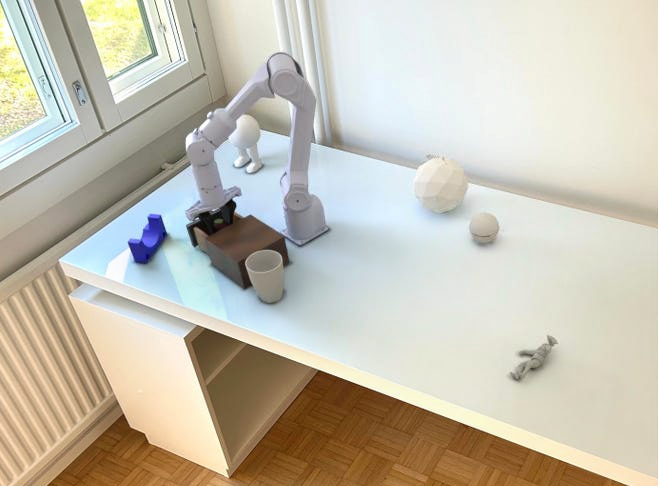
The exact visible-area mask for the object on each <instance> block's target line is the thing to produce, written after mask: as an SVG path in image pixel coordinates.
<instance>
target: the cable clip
mask: <svg viewBox="0 0 658 486" xmlns="http://www.w3.org/2000/svg"><path fill="white" fill-rule="evenodd" d="M146 217H147V223H146V224H145V226H144V227H143V228H142V233H141V237H140V239H139V238H129V240H128V241H127V245H128V248H129V250H130V253H131V255H132V258H133V262H134V263H141V264H148V262H149V261H150V259H151V258H152V256H153V255H154V254H155V252H156V251H157V249H159V247H160V245H162V243H163V241H164V240H165V239H166V237H167V236H168V232H167V229H166V226H165V223H164V220H163V217H162V214H156V213H149V214H148V215H147V216H146Z"/></svg>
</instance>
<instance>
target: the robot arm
mask: <svg viewBox="0 0 658 486" xmlns="http://www.w3.org/2000/svg"><path fill="white" fill-rule="evenodd" d="M275 95H276V96H278V97H280V98H282V99H284V100H286V101H288V102H289V103H291V104H292V105H293V106H292V114H291V115H292V117H291V124H290V125H291V126H290V135H289V145H288V154H287V163H286V164H285V168H284V172H283V173H282V174H281V176H280V179H279V184H280V187H281V190H282V191H281V192H282V195H283V200H282V202H281V204H282V209H283V214H284V215H283V216H284V220H285V225H286V228H285V229H283V230H281V231H280V234H282V235H283V236H285V238H287V239H288V240H290V241H292V242H293V243H295V244H296V245H297V246H303V245H305V244H307V243H308V242H310V241H311V240H313V239H315V238H317V237H318V236H320V235H322V234H324V233H326V232H327V231H328V230H329V227H327V224H326V217H325V209H324V205H323V203H322V201H321V200H320V198H319V197H318V196H317V195H316V194H314V193H309V174H308V173H309V164H310V156H311V149H312V140H313V132H314V123H315V117H316V116H315V115H316V110H317V109H316V107H317V97H316V94H315V92H314V90H313V88H312V86H311V84H310V82H309V81H308V78H307V76H306V75H305V72H304V70H303V69H302V66H301V64H300V63H299V62H298V61H297V60H296V59H295V58H294V57H293V56H291V55H290V53H287V52H285V51H276V52H273V53H272V54H271V55H270V56H269V57H268V58H267V59H266V61H264V62H262V63H261V64H260V65H259V66H258V67H257V69H256V71H255V72H254V73H253V74H252V76H251V77H250V78H249V79H248V80H247V82H246V83H245V84H244V85H243V87H242V88H241V89H240V90H239V91H238V92H237V94H236V95H235V96H234V97H233V99H232V100H231V101H230V102H229V103H228V104H227V106H226V107H224V108H223V107H222V108H216V109H215V110H214V111H209V112H208V113H207V115H206V116H207V117H206V120H204V122H203V123H202V124H201V125H199V127H195V128H194V130H193V131H191V132H190V133H189V134H188V135H186V138H185V143H184V144H185V153H186V157H187V159H188V161H189V162H190V165H191V172H192V175H193V179H194V182H195V186H196V189H197V193H198V197H199V200H197V201H196V202H194V204H192V205H191V206H190V207H189V208H187V209H185V210H184V214H185V217H186V219H188V221H189V220H191V221H190V222H193V221H192V220H194V219H195V218H194V217H196V216H197V217H198V218H197V219H200V220H201V221H202V222H203V224H204V225H205V226H206V228H207V230H208V231H209V233H210V235H212V234H214V233H216V229H215V225H214V217H213V216H212V215H211V214H210V212H208V211H210V210H212V211H214V210H216V209H218V208H220V210H221V212H222V216H223V220H224V221H225V222H227V224H228V225H231V224H233V216H234V212H236V209H237V207H238V206H237V202H236V201H235V200H234V198H236V197H238V198H240V197H241V196H243V192H242V189H241V188H240V187H239V186H237V185H234V186H232V187H229V188H224V187H223V182H222V180H221V175H220V171H219V167H218V163H217V162H216V160H215V151H216V150H217V149H219V148H220V146H222V145H223V143H225V142H226V140H228V139H229V138H228V137H229V136H230V135H231V134H232V133H233V132H234V131H235V130H236V129H237V122H236V121H237V120H238V119H239V118H240V117H241V116H242V115H243V114H245V113H247V111H249V110H250V109H251V108H252V107H253V106H254V105H255V104H256V103H257V102H258V101H260V100H261V98H265V99H275V98H276V96H275Z"/></svg>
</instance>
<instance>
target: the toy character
mask: <svg viewBox="0 0 658 486" xmlns="http://www.w3.org/2000/svg"><path fill="white" fill-rule="evenodd" d="M236 122H237V129H236V130H235V131H234V132H233V133H232V134H231V135H230V136H229V137H228V138H227V139H228V140H229V142H230V143H231V144H232V145H234V147H236V148H237V151H238V155H239V157H238V158H236V159H235V161H234V167H236V168H241V167H244V165H246V164H248V163H249V162H250V160H251V163H249V164H248V166H247V167H246V173H248V174H253V173H255V172H258V170H259V169H261V167H262V166H263V163H262V160H261V159H260V156H259V155H260V154H259V149H258V143H259V141H260V138H261V127H260V125H259V123H258V121H257V120H256V118H254V117H253V116H251V115H249V114H245V113H244V114H243V115H242V116H241V117H240V118H239V119H238V120H237V121H236ZM247 149H248V152H249V153H248V152H247Z"/></svg>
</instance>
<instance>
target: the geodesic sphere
mask: <svg viewBox="0 0 658 486" xmlns="http://www.w3.org/2000/svg"><path fill="white" fill-rule="evenodd" d="M425 157H426V158H427V159H428V161H426V162H425V163H423V164H421V165H420V166H418V167H417V171H416V173H415V176H414V179H413V182H412V185H413V192H414V193H413V194H414V196H415V197H416V199H417V200H418V202H419V203H420V204H421V206H422V207H423V208H424V209H426V210H429V211H431V212H434V213H436V214H441V213H445V212H449V211H452V210H454V209H455V208H457V207H458V206H460V205H461V204H462V203H463V202H464V199H465V197H466V194H467V191H468V189H469V183H468V178H467V174H466V172H465V171H464V168H463V167H461V165H460V164H459V163H458V161H456V160H453V159H451V158H449V157H446V156H444V155H442V156H436V155H434V154H428V155H425Z"/></svg>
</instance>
